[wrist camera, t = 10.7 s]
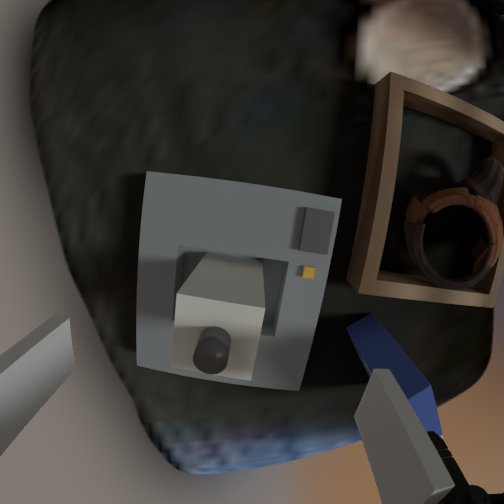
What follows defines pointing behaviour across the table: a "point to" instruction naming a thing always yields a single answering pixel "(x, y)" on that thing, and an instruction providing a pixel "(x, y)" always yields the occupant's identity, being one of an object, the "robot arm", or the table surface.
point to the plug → (220, 317)
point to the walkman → (395, 367)
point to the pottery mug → (483, 202)
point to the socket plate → (241, 245)
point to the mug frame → (383, 182)
